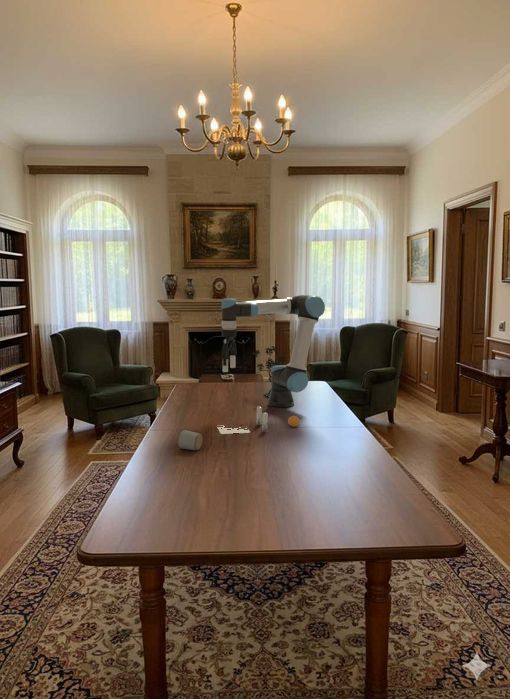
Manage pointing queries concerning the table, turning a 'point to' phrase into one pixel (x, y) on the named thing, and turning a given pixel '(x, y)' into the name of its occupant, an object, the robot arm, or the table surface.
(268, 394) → the bonsai tree
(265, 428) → the post
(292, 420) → the ball
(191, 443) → the grey cylinder
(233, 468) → the table surface
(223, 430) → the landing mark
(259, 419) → the post
